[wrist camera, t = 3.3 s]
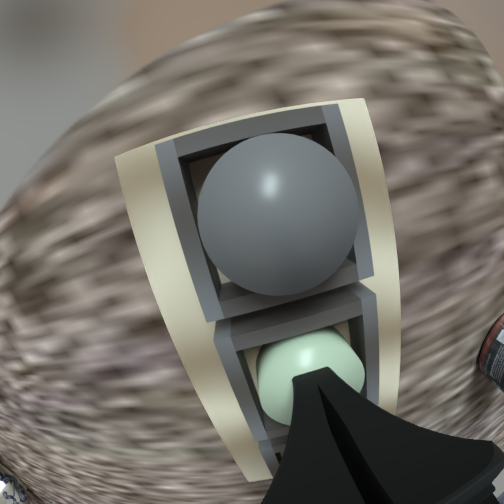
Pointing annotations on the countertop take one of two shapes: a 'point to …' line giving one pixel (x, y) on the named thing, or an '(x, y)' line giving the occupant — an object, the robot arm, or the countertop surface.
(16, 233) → the countertop surface
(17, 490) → the chinaware
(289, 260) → the button charcoal
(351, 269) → the panel
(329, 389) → the robot arm
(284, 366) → the button sage
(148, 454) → the countertop surface
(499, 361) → the supplement bottle
